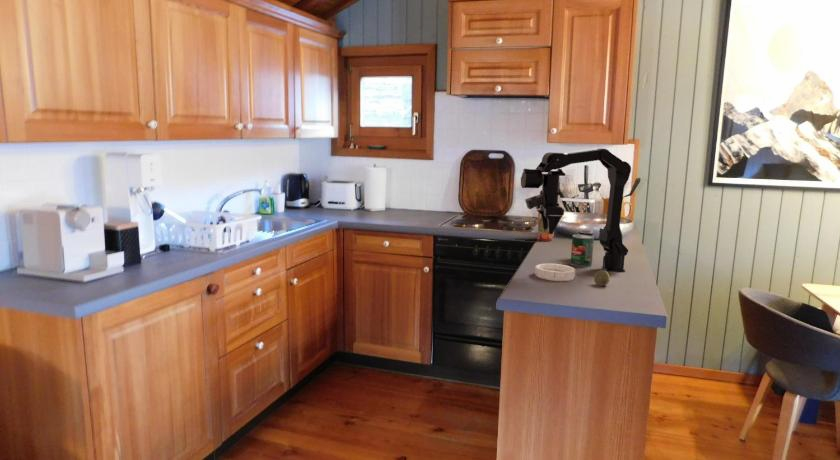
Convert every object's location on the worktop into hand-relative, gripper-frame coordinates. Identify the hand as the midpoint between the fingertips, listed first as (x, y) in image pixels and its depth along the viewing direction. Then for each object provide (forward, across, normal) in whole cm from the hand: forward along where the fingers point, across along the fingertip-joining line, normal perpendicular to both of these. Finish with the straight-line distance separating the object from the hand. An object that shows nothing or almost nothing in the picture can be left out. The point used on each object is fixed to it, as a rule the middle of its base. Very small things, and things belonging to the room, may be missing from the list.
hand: (547, 231), depth 206 cm
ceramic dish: (+14, +10, +1) cm, 17 cm away
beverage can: (+14, -20, +19) cm, 32 cm away
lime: (+14, +20, +14) cm, 28 cm away
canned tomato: (+14, -10, +16) cm, 23 cm away
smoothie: (+14, -60, +13) cm, 63 cm away
